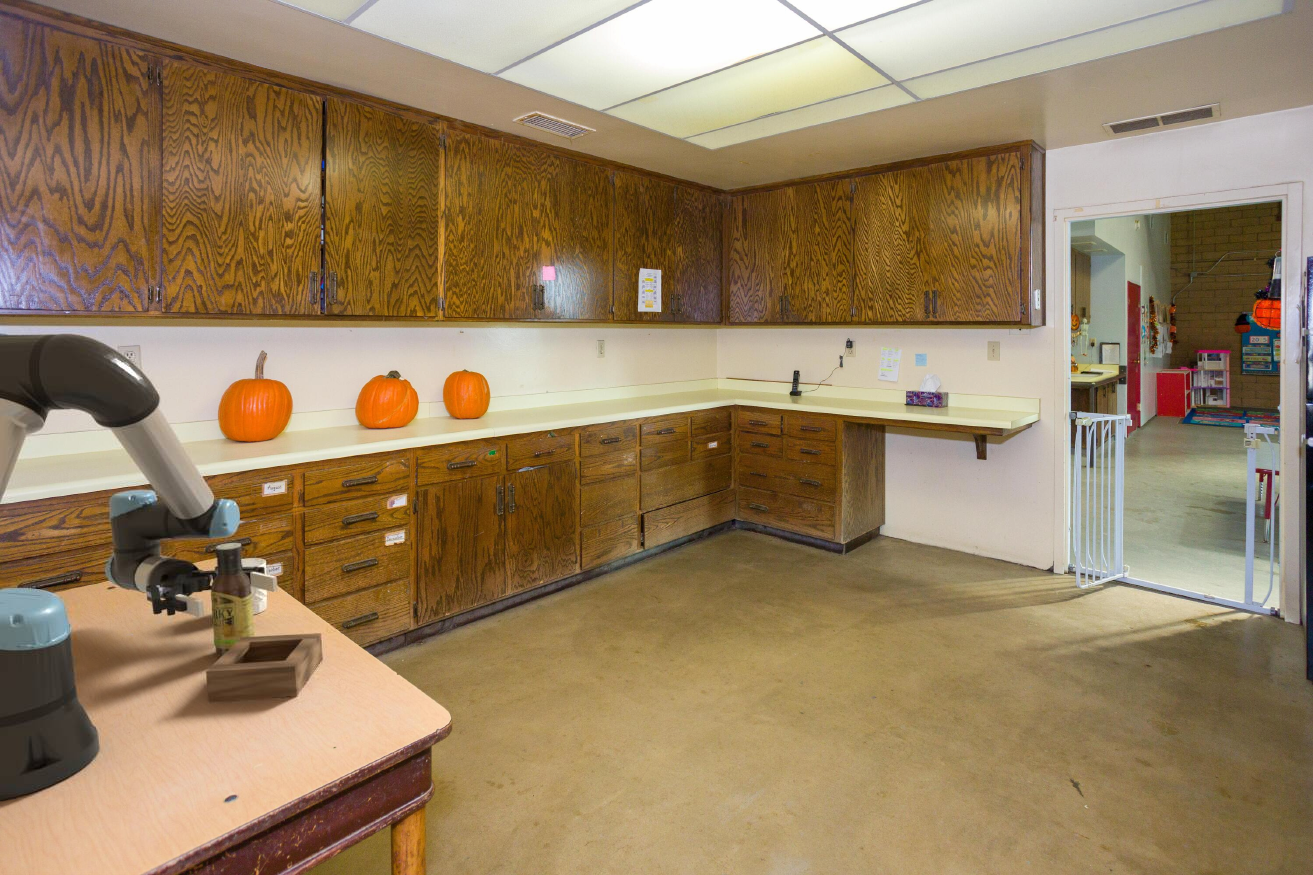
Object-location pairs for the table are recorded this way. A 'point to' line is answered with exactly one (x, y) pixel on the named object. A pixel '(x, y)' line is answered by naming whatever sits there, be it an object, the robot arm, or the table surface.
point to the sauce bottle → (231, 599)
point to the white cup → (257, 594)
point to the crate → (264, 667)
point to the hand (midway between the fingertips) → (240, 595)
